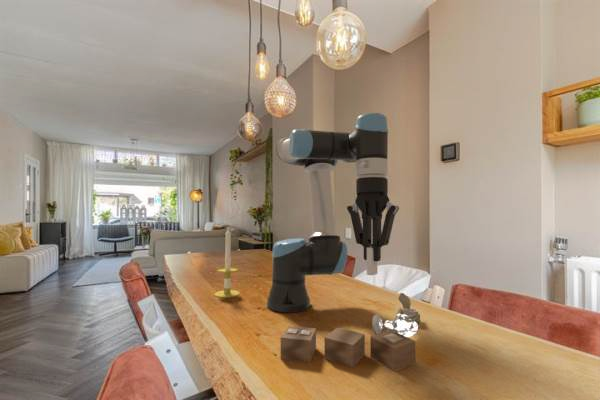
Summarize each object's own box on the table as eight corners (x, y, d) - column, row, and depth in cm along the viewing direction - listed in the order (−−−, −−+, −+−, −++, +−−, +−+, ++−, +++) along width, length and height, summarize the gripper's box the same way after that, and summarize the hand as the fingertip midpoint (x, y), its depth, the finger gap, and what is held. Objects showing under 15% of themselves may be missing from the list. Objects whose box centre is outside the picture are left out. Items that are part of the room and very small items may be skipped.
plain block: (324, 359, 69) (324, 337, 70) (337, 347, 75) (337, 327, 75) (352, 368, 66) (353, 345, 66) (364, 355, 71) (364, 334, 72)
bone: (418, 325, 85) (401, 291, 90) (399, 332, 89) (383, 299, 93) (428, 319, 92) (412, 288, 96) (410, 326, 95) (395, 295, 99)
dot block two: (280, 359, 69) (280, 336, 69) (288, 346, 76) (288, 324, 76) (310, 363, 68) (310, 339, 68) (315, 349, 74) (316, 327, 75)
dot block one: (370, 358, 70) (370, 335, 70) (391, 350, 74) (391, 329, 74) (394, 372, 64) (394, 346, 64) (415, 363, 68) (415, 339, 68)
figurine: (372, 310, 90) (414, 308, 86) (376, 333, 89) (419, 331, 85) (368, 319, 81) (415, 316, 77) (372, 344, 80) (420, 342, 76)
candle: (236, 297, 116) (237, 227, 117) (210, 297, 116) (212, 227, 117) (242, 290, 126) (243, 226, 127) (218, 290, 126) (219, 225, 127)
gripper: (341, 178, 76) (340, 273, 75) (391, 174, 67) (391, 280, 66) (355, 180, 81) (355, 268, 81) (403, 177, 73) (404, 275, 72)
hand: (372, 274), depth 74 cm, fingers closed
